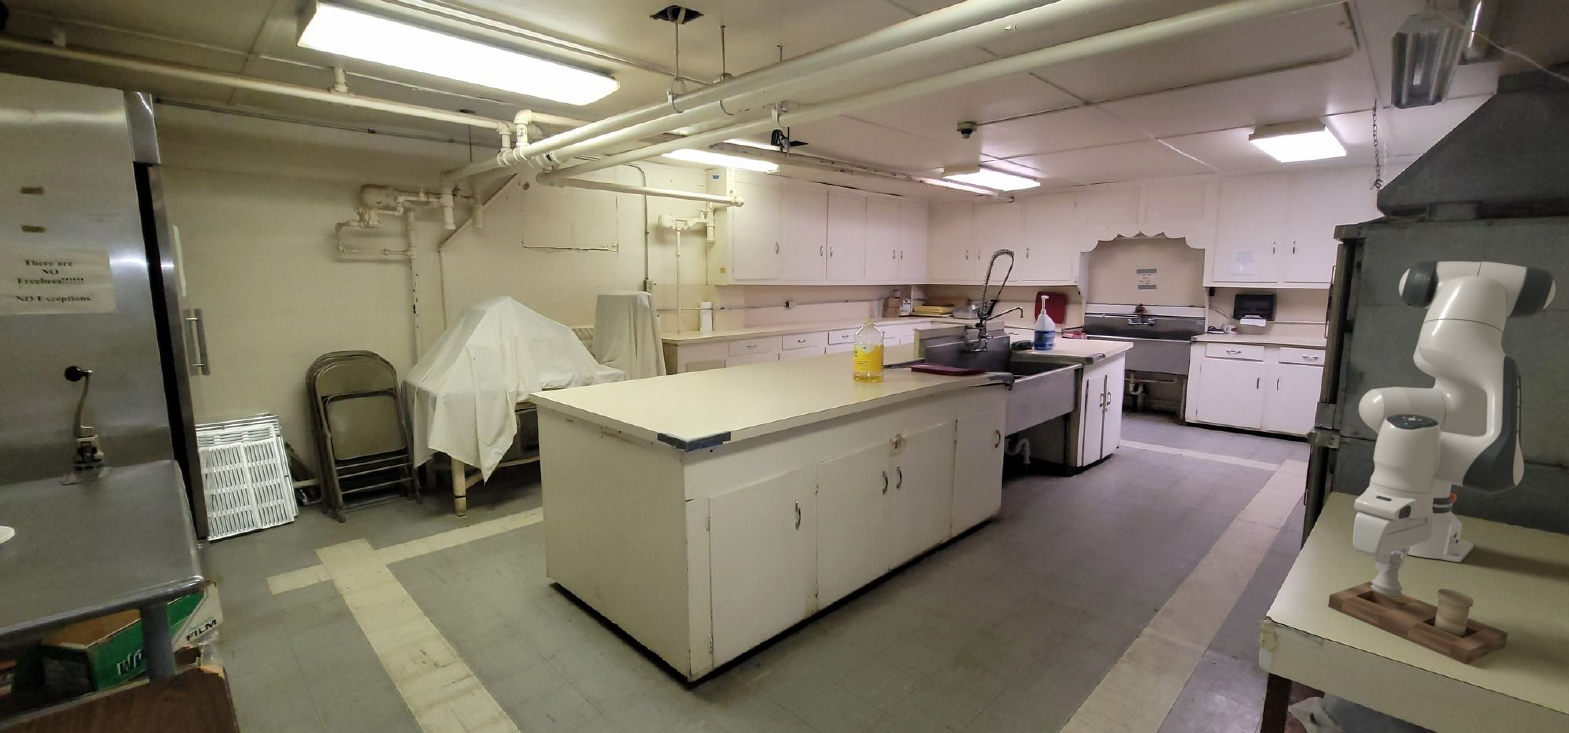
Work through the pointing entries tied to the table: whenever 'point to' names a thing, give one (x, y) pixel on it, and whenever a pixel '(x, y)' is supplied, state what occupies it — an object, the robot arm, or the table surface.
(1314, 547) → the table surface
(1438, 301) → the robot arm
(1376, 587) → the rook chess piece
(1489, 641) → the pallet board
